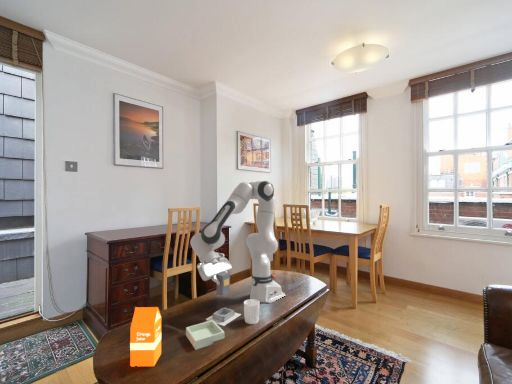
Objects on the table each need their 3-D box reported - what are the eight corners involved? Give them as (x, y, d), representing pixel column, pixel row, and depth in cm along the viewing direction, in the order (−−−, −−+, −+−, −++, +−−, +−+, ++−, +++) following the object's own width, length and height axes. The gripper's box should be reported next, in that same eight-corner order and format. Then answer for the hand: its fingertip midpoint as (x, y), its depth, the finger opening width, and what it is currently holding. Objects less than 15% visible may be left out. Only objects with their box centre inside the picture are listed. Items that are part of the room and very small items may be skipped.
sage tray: (212, 327, 122) (212, 319, 122) (224, 340, 111) (224, 332, 111) (185, 335, 115) (185, 327, 115) (195, 349, 104) (195, 341, 104)
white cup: (240, 322, 127) (240, 301, 127) (252, 317, 132) (252, 297, 132) (250, 328, 121) (250, 307, 121) (262, 323, 126) (262, 302, 126)
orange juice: (154, 366, 94) (154, 311, 94) (129, 366, 94) (130, 311, 94) (161, 353, 102) (161, 302, 102) (139, 353, 102) (139, 303, 102)
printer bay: (223, 310, 140) (223, 304, 140) (241, 316, 133) (241, 309, 133) (205, 321, 128) (205, 314, 128) (224, 328, 121) (224, 320, 121)
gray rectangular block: (223, 291, 134) (223, 271, 134) (229, 292, 131) (230, 273, 132) (216, 294, 129) (216, 274, 129) (223, 296, 127) (223, 275, 127)
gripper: (198, 260, 126) (213, 284, 120) (225, 252, 143) (239, 273, 137) (192, 268, 128) (206, 292, 122) (219, 259, 145) (232, 280, 140)
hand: (224, 282), depth 130 cm, fingers closed on gray rectangular block, 5 cm apart
